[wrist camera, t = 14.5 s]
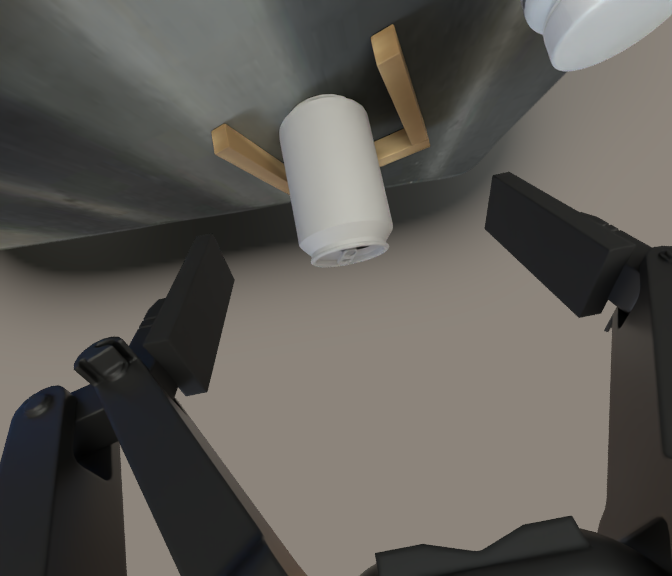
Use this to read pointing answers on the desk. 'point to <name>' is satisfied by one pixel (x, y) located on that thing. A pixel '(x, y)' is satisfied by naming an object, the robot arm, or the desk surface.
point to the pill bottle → (592, 27)
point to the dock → (387, 148)
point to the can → (335, 181)
